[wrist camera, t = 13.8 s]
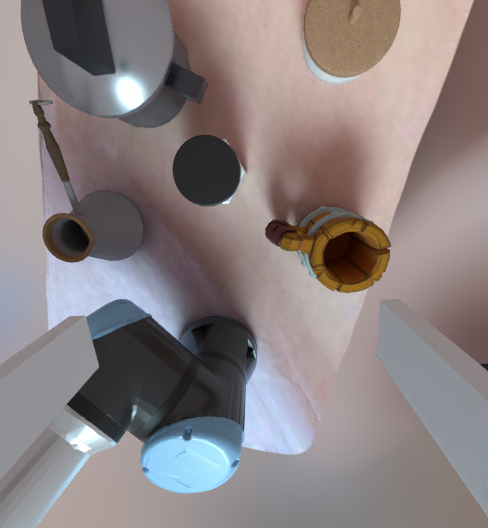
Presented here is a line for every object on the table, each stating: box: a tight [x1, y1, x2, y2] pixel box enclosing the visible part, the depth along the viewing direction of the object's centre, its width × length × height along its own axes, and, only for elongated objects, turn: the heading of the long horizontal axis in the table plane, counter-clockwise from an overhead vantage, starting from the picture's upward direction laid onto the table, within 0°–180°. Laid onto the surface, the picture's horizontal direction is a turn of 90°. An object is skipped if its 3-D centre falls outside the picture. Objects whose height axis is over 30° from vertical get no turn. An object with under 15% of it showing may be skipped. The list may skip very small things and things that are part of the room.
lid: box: [21, 0, 175, 118], centre depth 26 cm, size 16×16×8 cm
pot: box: [119, 30, 207, 128], centre depth 35 cm, size 14×18×11 cm
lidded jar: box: [302, 0, 401, 85], centre depth 33 cm, size 11×11×9 cm
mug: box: [265, 206, 391, 293], centre depth 38 cm, size 11×16×15 cm, turn 76°
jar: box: [173, 135, 247, 206], centre depth 37 cm, size 9×8×12 cm
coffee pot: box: [29, 100, 144, 263], centre depth 38 cm, size 21×12×15 cm, turn 177°
